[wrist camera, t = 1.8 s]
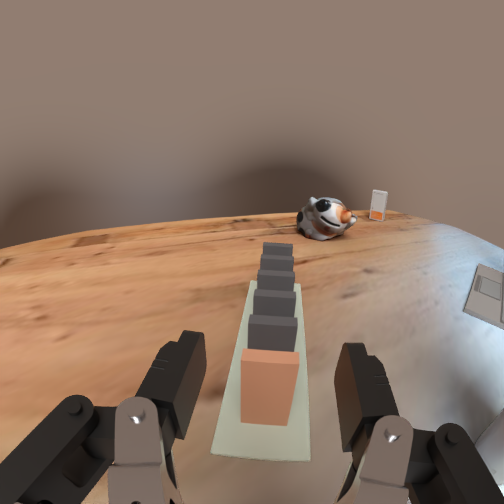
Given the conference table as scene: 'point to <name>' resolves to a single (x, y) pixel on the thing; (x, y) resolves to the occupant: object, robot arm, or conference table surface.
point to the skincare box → (378, 205)
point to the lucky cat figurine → (324, 218)
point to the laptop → (487, 296)
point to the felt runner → (257, 435)
